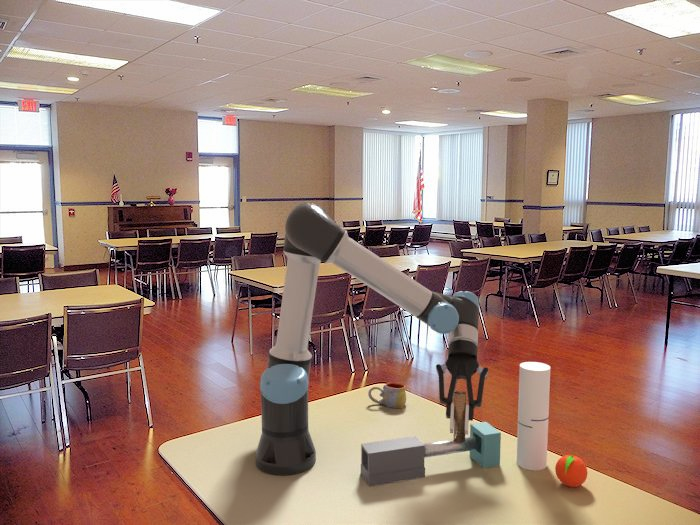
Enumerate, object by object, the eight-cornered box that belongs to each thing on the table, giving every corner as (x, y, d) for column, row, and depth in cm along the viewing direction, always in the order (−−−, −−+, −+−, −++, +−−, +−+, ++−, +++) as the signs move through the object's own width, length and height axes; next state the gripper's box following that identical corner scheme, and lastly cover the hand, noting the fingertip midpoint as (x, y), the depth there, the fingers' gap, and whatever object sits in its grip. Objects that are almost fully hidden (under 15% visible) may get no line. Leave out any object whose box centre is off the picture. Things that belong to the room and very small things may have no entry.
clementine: (580, 498, 127) (582, 467, 126) (549, 488, 131) (550, 459, 130) (590, 483, 134) (591, 454, 133) (559, 474, 138) (561, 446, 137)
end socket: (469, 455, 148) (470, 423, 147) (485, 453, 149) (486, 421, 148) (483, 468, 141) (484, 435, 140) (499, 465, 142) (500, 432, 141)
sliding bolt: (407, 456, 140) (407, 396, 138) (473, 446, 145) (474, 388, 143) (412, 462, 137) (412, 401, 135) (479, 451, 142) (481, 393, 140)
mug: (406, 401, 185) (407, 381, 185) (405, 409, 179) (405, 389, 178) (369, 399, 187) (369, 380, 186) (367, 407, 181) (367, 387, 180)
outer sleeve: (360, 473, 139) (360, 442, 138) (414, 464, 143) (414, 435, 142) (369, 486, 133) (369, 454, 132) (425, 477, 137) (425, 446, 136)
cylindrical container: (548, 471, 139) (552, 371, 136) (517, 469, 140) (521, 369, 137) (544, 458, 146) (548, 362, 143) (515, 455, 147) (518, 361, 144)
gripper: (493, 354, 153) (492, 440, 139) (433, 350, 156) (426, 434, 143) (494, 340, 147) (493, 428, 133) (432, 336, 151) (424, 422, 137)
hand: (458, 431), depth 138 cm, fingers closed on sliding bolt, 3 cm apart
